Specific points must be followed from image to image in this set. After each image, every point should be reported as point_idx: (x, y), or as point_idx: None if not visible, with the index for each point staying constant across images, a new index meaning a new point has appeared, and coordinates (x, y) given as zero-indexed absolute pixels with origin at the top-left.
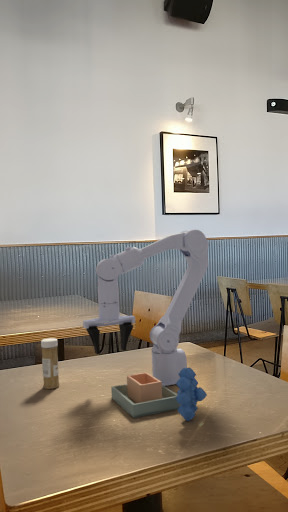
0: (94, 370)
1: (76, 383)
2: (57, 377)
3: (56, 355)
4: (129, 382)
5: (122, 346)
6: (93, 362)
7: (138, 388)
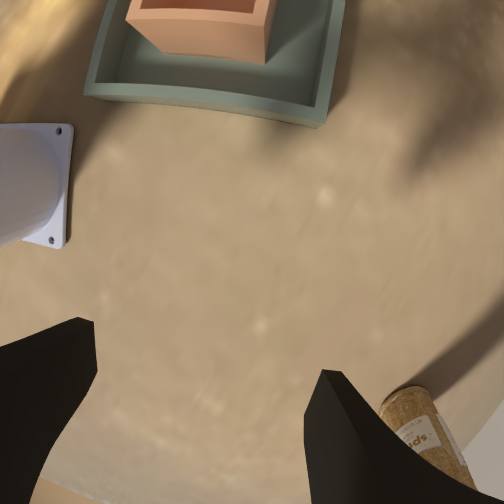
0: (193, 459)
1: None
2: (405, 415)
3: None
4: (271, 3)
5: (81, 362)
6: (166, 497)
7: None
